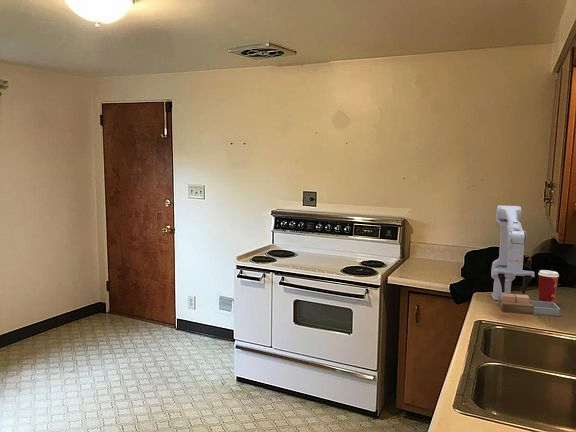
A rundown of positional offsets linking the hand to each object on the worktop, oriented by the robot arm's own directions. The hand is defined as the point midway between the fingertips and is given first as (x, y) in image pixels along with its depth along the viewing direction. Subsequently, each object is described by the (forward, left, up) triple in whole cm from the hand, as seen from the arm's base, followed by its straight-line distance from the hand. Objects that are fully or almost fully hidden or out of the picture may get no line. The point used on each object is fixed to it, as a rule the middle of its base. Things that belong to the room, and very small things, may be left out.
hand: (513, 292), depth 201 cm
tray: (-11, +15, -10) cm, 21 cm away
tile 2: (-11, +6, -6) cm, 14 cm away
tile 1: (-11, 0, -6) cm, 13 cm away
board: (-11, +3, -10) cm, 16 cm away
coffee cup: (-23, +18, -10) cm, 31 cm away
